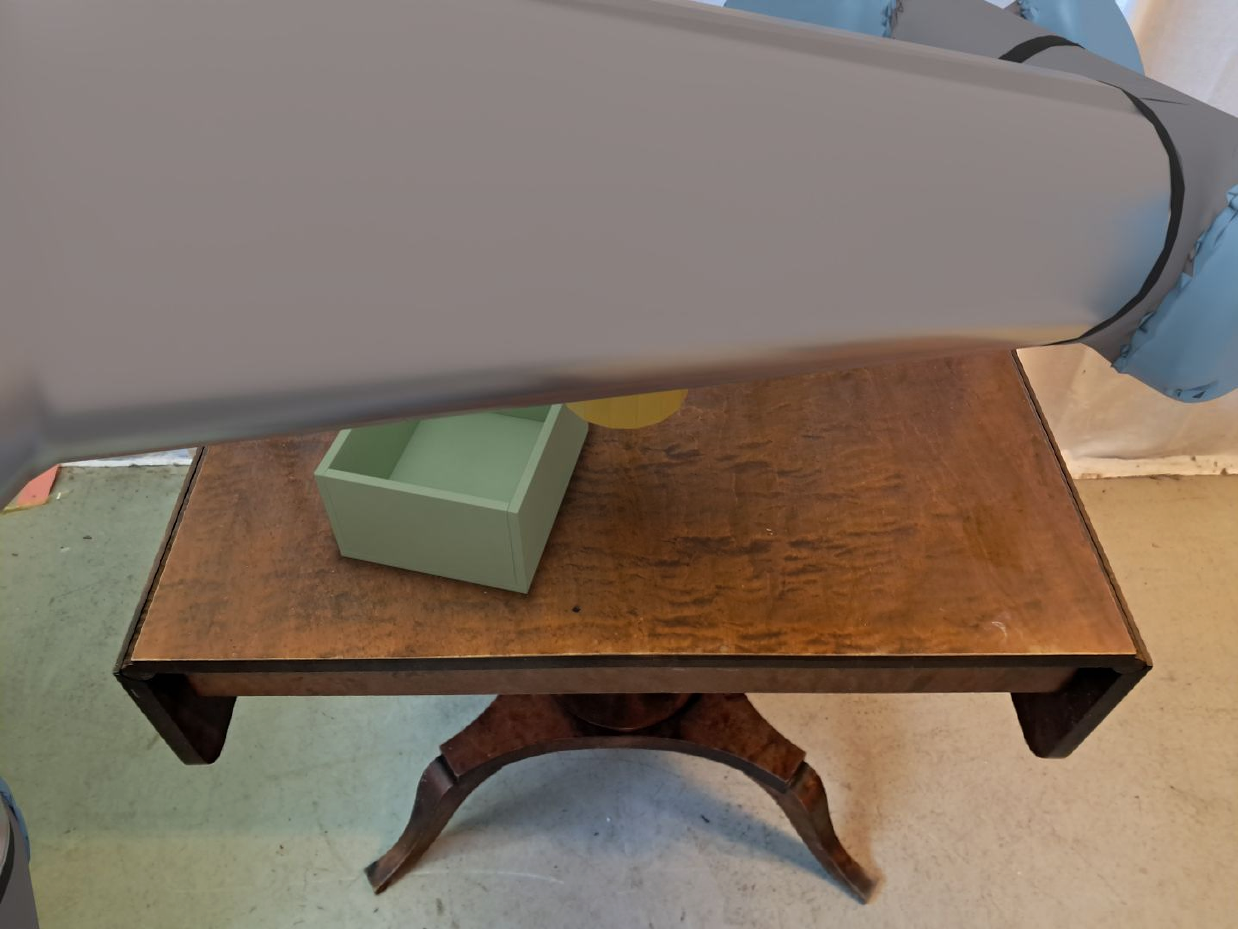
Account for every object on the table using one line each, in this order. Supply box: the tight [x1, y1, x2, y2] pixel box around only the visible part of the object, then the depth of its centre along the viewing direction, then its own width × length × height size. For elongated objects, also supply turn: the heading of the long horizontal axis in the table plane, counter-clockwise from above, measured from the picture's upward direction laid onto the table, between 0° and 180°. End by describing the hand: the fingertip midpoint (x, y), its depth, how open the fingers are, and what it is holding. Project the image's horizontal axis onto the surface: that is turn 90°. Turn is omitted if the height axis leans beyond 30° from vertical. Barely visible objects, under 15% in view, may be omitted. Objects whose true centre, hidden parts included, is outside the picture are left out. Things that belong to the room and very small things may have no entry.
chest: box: [313, 403, 589, 595], centre depth 77 cm, size 19×16×10 cm
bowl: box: [566, 389, 689, 430], centre depth 67 cm, size 9×9×8 cm
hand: (587, 335), depth 68 cm, fingers closed on bowl, 10 cm apart
